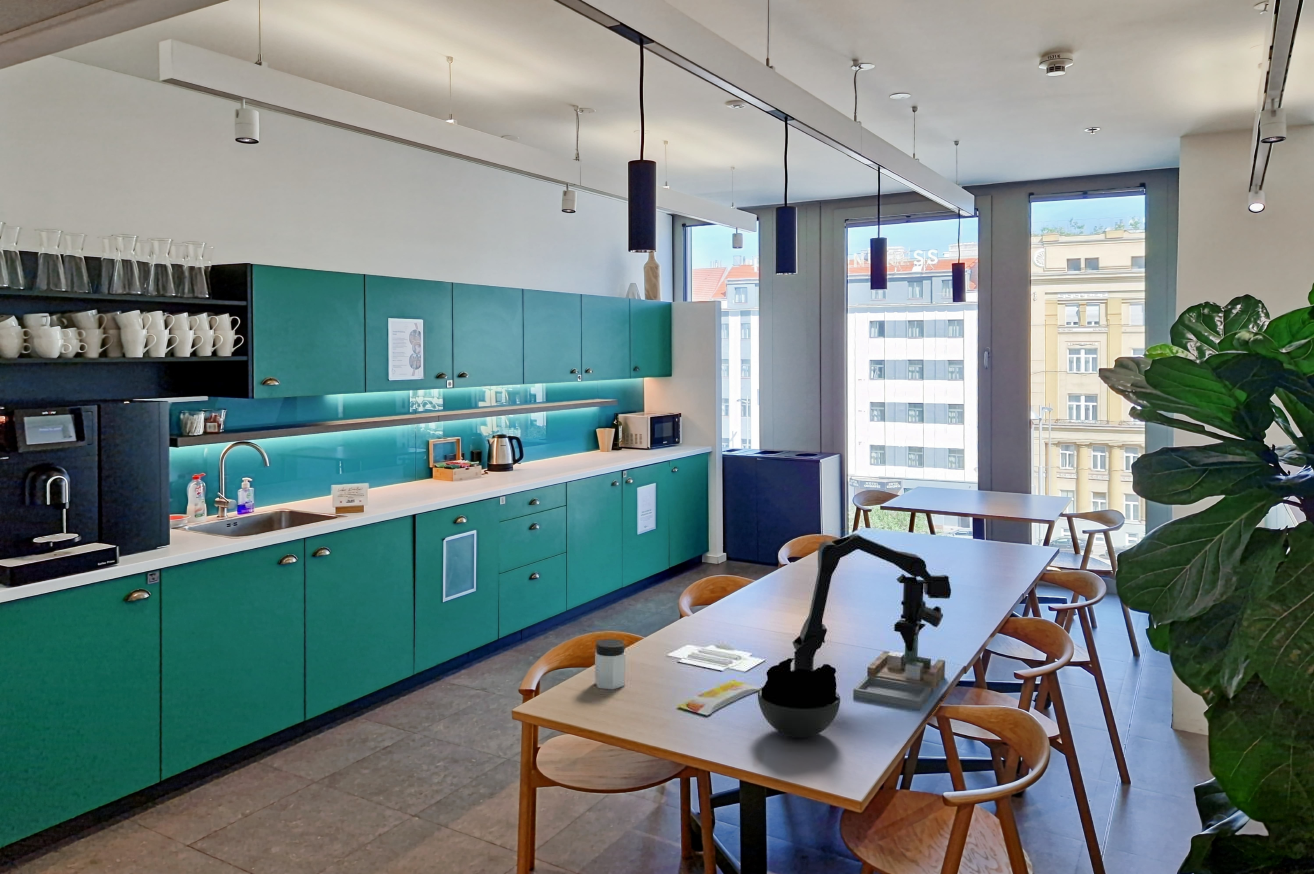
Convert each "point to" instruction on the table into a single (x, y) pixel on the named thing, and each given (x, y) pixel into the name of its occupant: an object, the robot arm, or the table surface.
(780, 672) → the coal bowl
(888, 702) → the tray
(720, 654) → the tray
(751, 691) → the food package
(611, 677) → the jar
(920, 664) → the light grey cube
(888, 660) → the white cube
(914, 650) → the rake tool
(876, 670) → the slot block
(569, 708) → the table surface
